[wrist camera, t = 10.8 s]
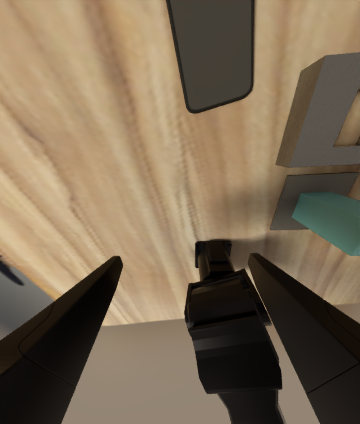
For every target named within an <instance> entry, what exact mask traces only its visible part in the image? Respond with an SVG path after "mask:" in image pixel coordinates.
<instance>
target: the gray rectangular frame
mask: <svg viewBox="0 0 360 424" xmlns="http://www.w3.org/2000/svg"><path fill="white" fill-rule="evenodd" d="M359 90H360V52H359V53H348V54H337V55H326V56H324V57H322V58H321V59H319V60H318V61H316V62H315V63H313V64H311V65H310V66H308V67H307V68H305V69H304V70H302V71H301V73H300V77H299V81H298V84H297V88H296V92H295V95H294V99H293V103H292V106H291V110H290V114H289V117H288V121H287V125H286V128H285V132H284V136H283V139H282V143H281V146H280V150H279V154H278V157H277V161H276V165H279V166H284V167H288V168H292V167H311V166H330V165H350V164H360V138H359V140H358V142H357V143H356V145H340V146H333V145H334V143H335V141H336V139H337V136H338V134H339V132H340V130H341V127H342V125H343V123H344V120H345V118H346V116H347V114H348V111H349V109H350V107H351V105H352V102H353V100H354V98H355V96H356V93H357V91H359Z"/></svg>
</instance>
